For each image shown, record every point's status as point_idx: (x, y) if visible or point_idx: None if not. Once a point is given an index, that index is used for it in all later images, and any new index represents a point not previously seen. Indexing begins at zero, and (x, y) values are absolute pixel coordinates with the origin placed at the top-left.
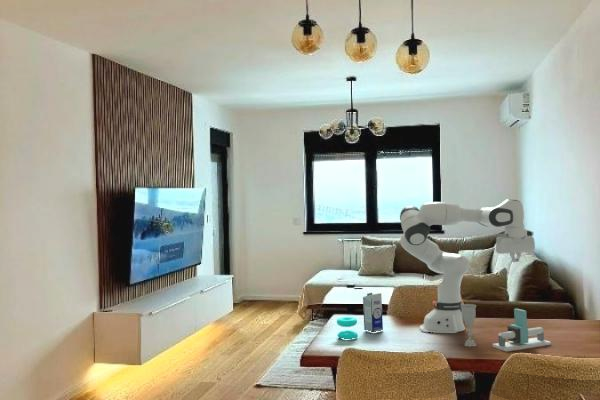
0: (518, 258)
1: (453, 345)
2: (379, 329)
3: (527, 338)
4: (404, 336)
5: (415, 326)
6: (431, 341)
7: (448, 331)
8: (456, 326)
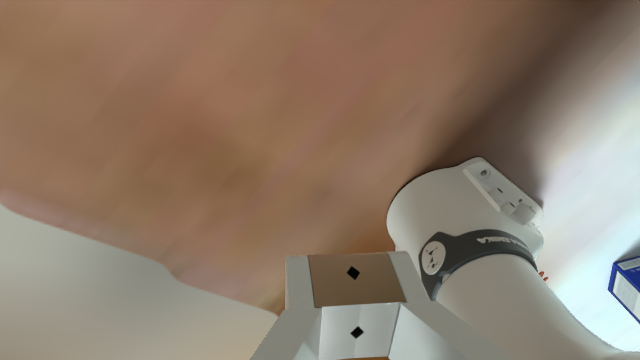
0: (314, 303)
1: (632, 7)
2: (635, 265)
3: None
4: (623, 195)
5: None
6: (628, 101)
7: (495, 170)
8: (468, 178)
